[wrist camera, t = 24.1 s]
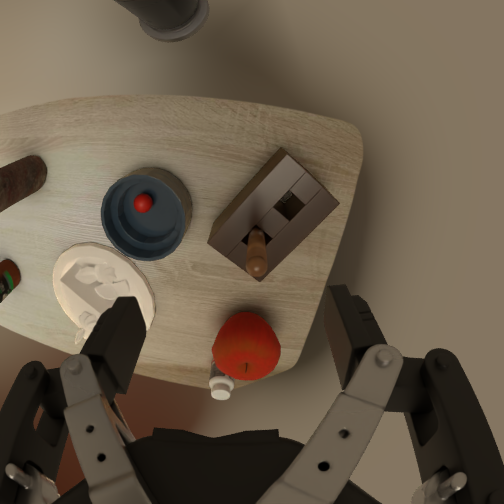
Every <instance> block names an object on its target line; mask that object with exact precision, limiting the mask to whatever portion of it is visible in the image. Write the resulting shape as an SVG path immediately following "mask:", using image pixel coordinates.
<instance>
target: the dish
mask: <svg viewBox="0 0 504 504" xmlns="http://www.w3.org/2000/svg"><path fill="white" fill-rule="evenodd" d="M53 287H54V290H55V294H56V297H57V300H58V301H59V303H60V305H61V307H62V308H63V310H64V312H65V313H66V314H67V315H68V316H69V318H70V319H71V320H72V321H73V322H74V323H75V324H76V325H77V326H78V327H79V328H80V330H79V331H78V332H77V334H76V337H75V343H76V344H78V343H79V342H80V341H81V340H82V338H83V336H84V338H85V339H88V337H89V335H90V333H91V332H92V330H93V328H94V326H95V325H96V322H97V321H98V319H99V317H100V315H101V314H102V313H103V312H105V311H106V310H107V309H108V308H112V306H113V304H114V302H115V301H116V299H117V297H119V296H135V297H136V298H137V300H138V303H139V306H140V309H141V312H142V315H143V318H144V321H145V323H146V332H147V331H148V330H149V328H150V326H151V323H152V320H153V317H154V315H155V302H154V294H153V292H152V290H151V288H150V286H149V284H148V281H147V279H146V277H145V276H144V275H143V274H142V272H141V271H140V270H139V269H138V268H137V267H136V266H135V265H134V263H133V262H132V261H131V260H130V259H128V258H127V257H125V256H124V255H122V254H120V253H119V252H117V251H116V250H114V249H113V248H110V247H107V246H103V245H100V244H96V243H93V242H92V243H82V244H75V245H74V246H72V247H71V248H69V249H67V250H66V251H64V252H63V253H62V254H61V255H60V256H59V258H58V260H57V262H56V264H55V266H54V268H53Z"/></svg>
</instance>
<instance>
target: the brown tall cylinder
mask: <svg viewBox="0 0 504 504" xmlns="http://www.w3.org/2000/svg"><path fill="white" fill-rule="evenodd" d="M46 173H47V169H46V166H45V164H44V162H43V161H42V160H41V158H40V157H38V156H31V155H30V156H27V157H25V158H22V159H20V160H17V161H15V162H13V163H11V164H8V165H6V166H4V167H2V168H0V212H2V211H3V210H5V209H7V208H8V207H10V206H12V205H13V204H15V203H17V202H19V201H20V200H22V199H24V198H26V197H27V196H29V195H31V194H33V193H34V192H36V191H38V190H39V189H40V188H41V187H42V185H43V183H44V180H45V176H46Z"/></svg>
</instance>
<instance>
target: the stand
mask: <svg viewBox="0 0 504 504" xmlns="http://www.w3.org/2000/svg"><path fill="white" fill-rule="evenodd" d="M288 190H289V191H291V192H292V193H293V195H292V196H291V197H290V198H289V199H288V200H287V201H286V203H285V204H283V203H282V202H281V201H280V199H281V198H282V197H283V196H284V194H285V193H286V192H287V191H288ZM339 204H340V203H339V202H338V201H337V200H336V199H335V198H334V196H333V195H332V194H331V193H330V192H329V191H328V190H327V189H326V188H325V187H324V186H323V185H322V184H321V183H320V182H319V181H318V180H317V179H316V178H315V177H314V176H313V175H311V174H310V173H309V172H308V171H307V170H306V169H305V168H304V167H303V166H302V165H301V164H300V163H299V162H297V161H296V160H295V159H294V158H293V157H292V156H291V155H290V154H289V153H287V152H286V151H285V150H284V149H283V148H282V147H281V148H280V149H279V150H278V151H277V152H276V153H275V154H274V155H273V156H272V158H271V159H270V160H269V161H268V162H267V163H266V164H265V165H264V166H263V167H262V168H261V170H260V171H259V172H258V173H257V174H256V175H255V176H254V177H253V178H252V180H251V181H250V182H249V183H248V184H247V185H246V186H245V187H244V188H243V190H242V191H241V192H240V193H239V194H238V195H237V196H236V197H235V199H234V200H233V201H232V202H231V203H230V204H229V205H228V207H227V208H226V209H225V210H224V211H223V212H222V213H221V215H220V216H219V217H218V218H217V219H216V220H215V222H214V223H213V226H212V229H211V232H210V235H209V238H208V242H207V243H208V244H209V245H210V246H212V247H213V248H214V249H216V250H217V251H218V252H220V253H221V254H222V255H224V256H225V257H226V258H228V259H229V260H231V261H232V262H233V263H235V264H236V265H237V266H239V267H240V268H241V269H243V270H244V271H245V272H247V270H246V258H247V248H248V238H249V232H250V231H251V229H252V228H253V227H254V226H255V225H257V226H258V227H259V228H261V229H262V230H263V231H264V235H265V245H266V254H267V263H268V268H267V271H266V272H265V274H264V275H262V276H260V277H254V276H252V277H254V278H255V279H256V280H258V281H259V282H261V281H262V280H263V279H264V278H265V277H266V276H267V275H268V274H269V273H270V272H271V271H272V270H273V269H274V268H275V267H276V266H277V265H278V264H279V263H280V262H281V261H282V260H283V259H284V258H285V257H286V256H287V255H289V254H290V253H291V252H292V251H293V250H294V249H295V248H296V247H297V246H298V245H299V244H300V243H301V242H302V241H303V240H304V239H305V238H306V237H307V236H308V235H309V234H310V233H311V232H312V231H313V230H314V229H315V228H316V227H317V226H318V225H319V224H320V223H321V222H322V221H323V220H324V219H325V218H326V217H327V216H328V215H329V214H330V213H331V212H332V211H333V210H334V209H335V208H336V207H337V206H338V205H339ZM247 273H248V272H247ZM248 274H249V273H248ZM249 275H250V274H249Z"/></svg>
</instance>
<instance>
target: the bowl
mask: <svg viewBox="0 0 504 504" xmlns="http://www.w3.org/2000/svg"><path fill="white" fill-rule="evenodd" d="M143 193H144V194H148V195H149V196H150V197H151V198H152V202H153V204H152V207H151V209H150V210H149V211H148V212H146V213H140V212H138V211H137V210H136V209H135V208H134V199H135V198H136V196H138V195H139V194H143ZM191 217H192V203H191V200H190V197H189V194H188V191H187V190H186V188H185V187H184V185H183V184H182V183H181V181H180V180H179V179H177V178H176V177H175V176H174V175H172V174H171V173H169V172H167V171H164V170H162V169H159V168H142V169H139V170H136V171H133V172H131V173H129V174H128V175H126V176H124V177H122V178H121V179H119V180H118V181H117V182H116V183H114V184H113V185H112V186H111V187H110V188H109V189H108V191H107V193H106V195H105V196H104V198H103V202H102V207H101V220H102V226H103V228H104V231H105V233H106V236H107V238H108V239H109V240H110V241H111V243H112V244H113V245H114V247H115V248H116V249H118V250H119V251H120V252H122V253H123V254H124V255H126V256H128V257H131V258H133V259H136V260H141V261H154V260H158V259H162V258H164V257H166V256H168V255H169V254H171V253H172V252H174V250H175V249H176V248H177V247H178V245H179V244H180V243H181V241H182V239H183V237H184V235H185V233H186V231H187V229H188V226H189V223H190V221H191Z"/></svg>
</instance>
